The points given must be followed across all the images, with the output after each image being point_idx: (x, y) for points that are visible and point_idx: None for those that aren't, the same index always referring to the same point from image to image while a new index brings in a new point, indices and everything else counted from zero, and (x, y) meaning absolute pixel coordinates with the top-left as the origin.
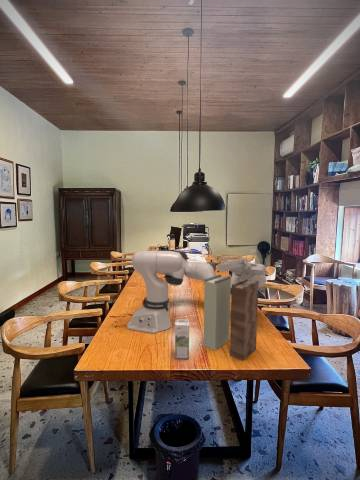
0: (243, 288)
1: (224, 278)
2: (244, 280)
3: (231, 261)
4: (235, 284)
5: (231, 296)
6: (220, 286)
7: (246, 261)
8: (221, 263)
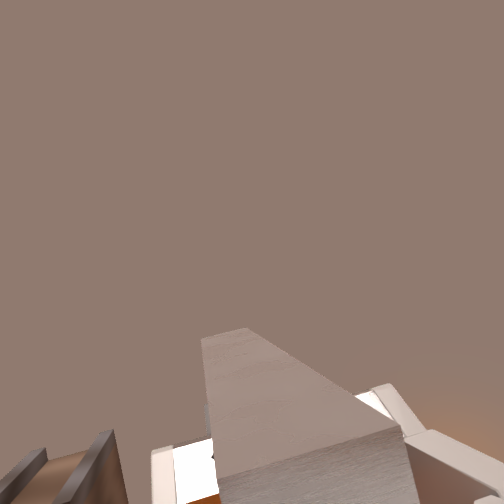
0: (45, 457)
1: (207, 428)
2: (65, 483)
3: (242, 350)
4: (96, 440)
5: (126, 495)
6: None
7: (152, 474)
8: (243, 331)
